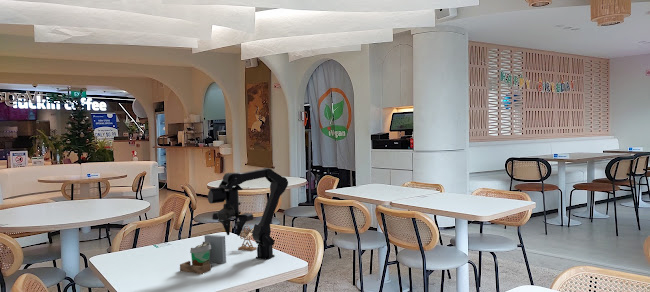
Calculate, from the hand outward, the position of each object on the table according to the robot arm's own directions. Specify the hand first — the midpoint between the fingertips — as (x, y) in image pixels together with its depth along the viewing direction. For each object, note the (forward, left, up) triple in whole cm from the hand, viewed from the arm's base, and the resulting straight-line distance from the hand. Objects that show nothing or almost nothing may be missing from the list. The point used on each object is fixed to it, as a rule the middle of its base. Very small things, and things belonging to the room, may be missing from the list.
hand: (233, 235), depth 206 cm
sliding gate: (+10, 0, -13) cm, 17 cm away
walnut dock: (+11, +14, -13) cm, 22 cm away
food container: (+10, +8, -13) cm, 19 cm away
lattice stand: (+9, -24, -13) cm, 29 cm away
